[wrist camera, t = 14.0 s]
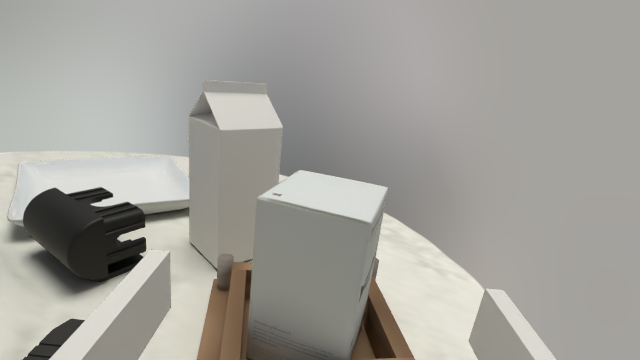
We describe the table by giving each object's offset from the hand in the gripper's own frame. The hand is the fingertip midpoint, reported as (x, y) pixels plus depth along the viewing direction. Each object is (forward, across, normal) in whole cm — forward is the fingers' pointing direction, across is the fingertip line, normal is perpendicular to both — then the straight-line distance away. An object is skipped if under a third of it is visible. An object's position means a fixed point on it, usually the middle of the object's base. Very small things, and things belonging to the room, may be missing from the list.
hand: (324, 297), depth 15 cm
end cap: (+19, -23, -13) cm, 33 cm away
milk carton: (+24, -10, -13) cm, 29 cm away
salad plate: (+35, -30, -14) cm, 48 cm away
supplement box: (+10, 0, -12) cm, 15 cm away
